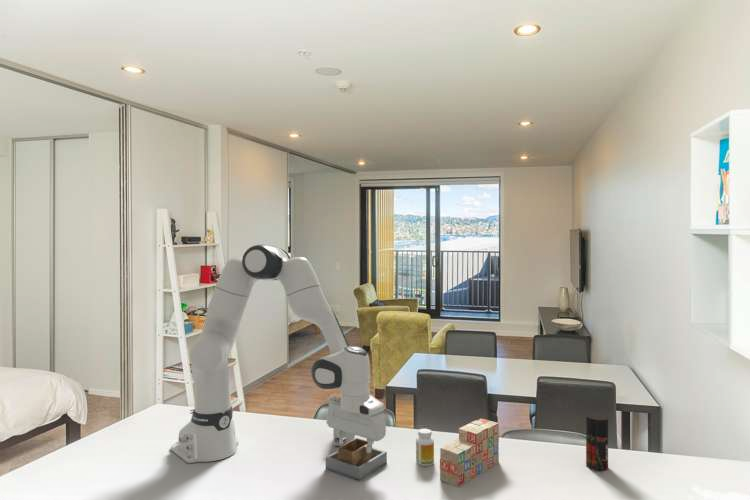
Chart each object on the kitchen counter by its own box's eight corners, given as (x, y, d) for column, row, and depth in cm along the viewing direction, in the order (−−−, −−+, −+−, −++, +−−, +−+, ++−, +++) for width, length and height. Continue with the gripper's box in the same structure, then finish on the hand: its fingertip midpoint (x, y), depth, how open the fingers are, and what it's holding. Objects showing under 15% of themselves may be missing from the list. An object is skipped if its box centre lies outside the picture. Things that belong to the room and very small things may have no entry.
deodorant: (586, 460, 150) (586, 411, 150) (608, 464, 147) (608, 414, 147) (585, 469, 144) (585, 418, 144) (608, 473, 142) (607, 421, 142)
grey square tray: (325, 469, 146) (325, 457, 146) (354, 453, 157) (354, 442, 156) (359, 481, 138) (358, 468, 138) (386, 463, 149) (386, 451, 149)
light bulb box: (353, 446, 162) (353, 414, 161) (333, 446, 162) (332, 414, 162) (355, 434, 172) (355, 403, 172) (336, 434, 172) (335, 403, 172)
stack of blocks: (457, 487, 134) (457, 443, 134) (439, 480, 139) (439, 436, 138) (499, 462, 149) (499, 422, 149) (481, 456, 154) (481, 417, 154)
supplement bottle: (437, 462, 150) (437, 430, 149) (426, 468, 146) (426, 435, 145) (423, 457, 153) (423, 426, 153) (412, 462, 149) (412, 431, 149)
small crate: (353, 473, 141) (353, 452, 141) (337, 467, 145) (337, 447, 145) (372, 461, 149) (371, 442, 149) (356, 457, 152) (356, 437, 152)
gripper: (322, 397, 151) (322, 442, 151) (376, 411, 138) (375, 460, 139) (335, 392, 156) (335, 436, 156) (388, 405, 143) (388, 453, 144)
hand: (355, 447), depth 147 cm, fingers open, 8 cm apart
